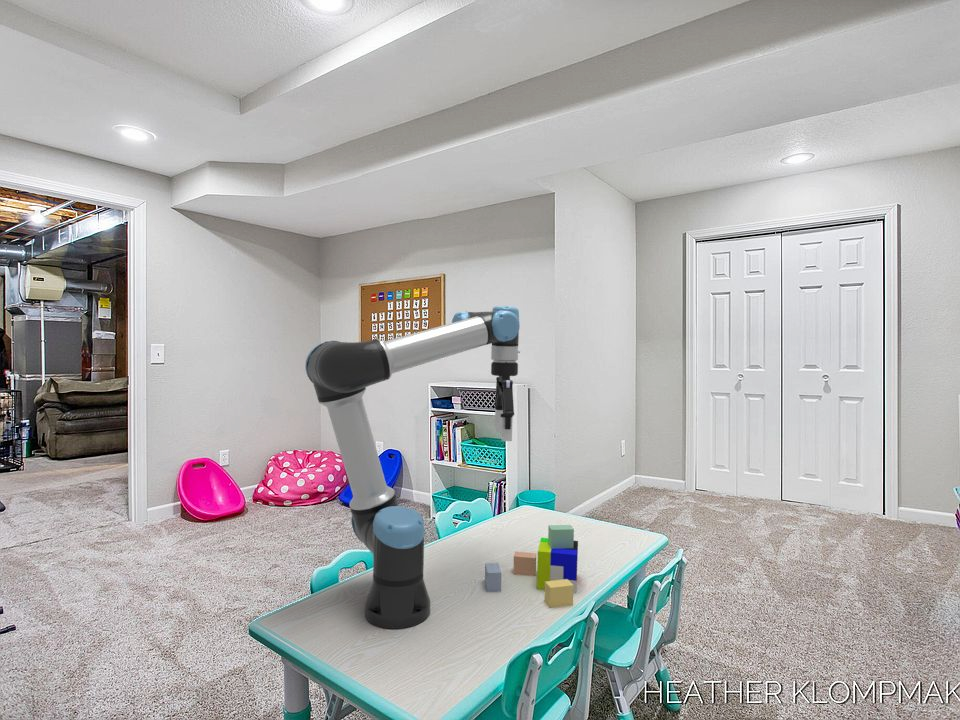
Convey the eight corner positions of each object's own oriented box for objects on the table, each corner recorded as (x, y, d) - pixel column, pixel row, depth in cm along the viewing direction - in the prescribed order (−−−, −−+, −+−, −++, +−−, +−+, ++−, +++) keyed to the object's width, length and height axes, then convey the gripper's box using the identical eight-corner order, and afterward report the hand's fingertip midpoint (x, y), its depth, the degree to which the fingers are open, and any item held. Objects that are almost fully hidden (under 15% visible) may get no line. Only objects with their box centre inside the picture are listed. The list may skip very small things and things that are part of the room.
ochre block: (550, 608, 134) (550, 587, 134) (544, 601, 137) (544, 581, 137) (572, 605, 135) (573, 585, 135) (566, 598, 139) (567, 579, 139)
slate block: (501, 591, 142) (501, 572, 142) (487, 592, 141) (487, 572, 141) (497, 581, 148) (498, 562, 148) (484, 581, 147) (485, 563, 147)
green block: (550, 548, 145) (551, 529, 145) (548, 543, 149) (548, 525, 148) (573, 548, 146) (573, 529, 146) (570, 543, 149) (570, 524, 149)
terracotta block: (513, 574, 152) (513, 556, 152) (514, 569, 156) (514, 551, 156) (535, 576, 151) (535, 558, 151) (536, 570, 155) (536, 553, 155)
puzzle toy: (575, 593, 142) (577, 555, 141) (536, 589, 144) (537, 551, 143) (576, 577, 151) (578, 540, 151) (540, 573, 153) (541, 537, 153)
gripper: (526, 364, 144) (524, 445, 145) (510, 359, 169) (509, 428, 170) (497, 363, 144) (495, 445, 144) (486, 359, 168) (484, 428, 169)
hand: (503, 436), depth 157 cm, fingers open, 13 cm apart
